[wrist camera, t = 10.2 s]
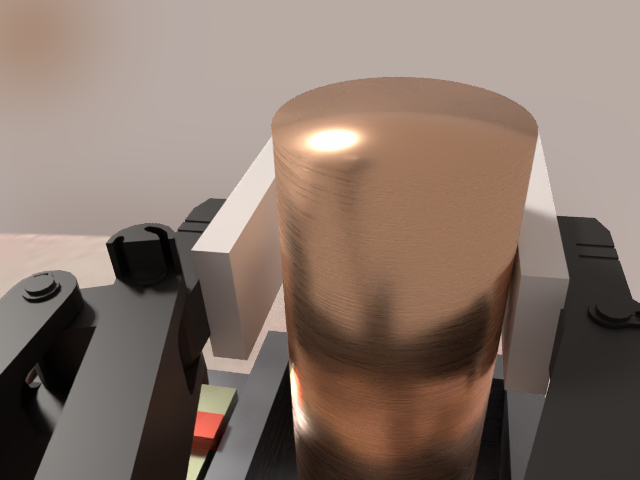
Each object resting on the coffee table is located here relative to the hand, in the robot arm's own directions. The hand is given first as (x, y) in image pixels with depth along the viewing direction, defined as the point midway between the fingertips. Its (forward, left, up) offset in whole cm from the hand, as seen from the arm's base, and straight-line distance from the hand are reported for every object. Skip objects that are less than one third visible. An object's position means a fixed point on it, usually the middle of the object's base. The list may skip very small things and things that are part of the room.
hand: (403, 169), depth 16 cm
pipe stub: (0, -5, -8) cm, 10 cm away
